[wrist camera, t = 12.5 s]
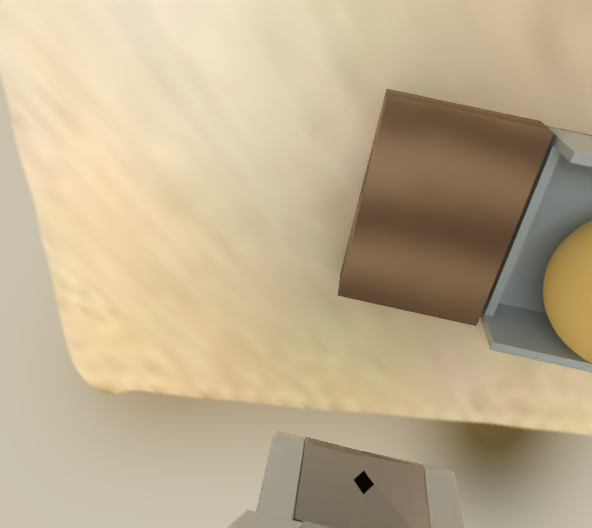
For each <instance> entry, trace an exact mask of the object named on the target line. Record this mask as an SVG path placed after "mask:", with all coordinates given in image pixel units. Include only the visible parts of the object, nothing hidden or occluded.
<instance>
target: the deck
mask: <svg viewBox="0 0 592 528" xmlns="http://www.w3.org/2000/svg"><path fill="white" fill-rule="evenodd" d="M552 136H553V132H552V131H551V130H550V129H548V128H547V127H546V126H545V125H544V124H543V123H542V122H541V121H536V120H532V119H527V118H522V117H517V116H513V115H508V114H503V113H498V112H494V111H489V110H484V109H479V108H475V107H470V106H465V105H460V104H456V103H451V102H446V101H441V100H436V99H432V98H427V97H422V96H417V95H413V94H408V93H403V92H398V91H394V90H389V89H387V90H386V94H385V98H384V102H383V106H382V110H381V114H380V118H379V122H378V126H377V130H376V134H375V138H374V142H373V146H372V150H371V154H370V158H369V162H368V166H367V170H366V174H365V178H364V182H363V186H362V190H361V194H360V198H359V202H358V206H357V210H356V214H355V218H354V222H353V226H352V230H351V234H350V238H349V242H348V246H347V250H346V254H345V258H344V262H343V266H342V270H341V274H340V281H339V290H338V296H343V297H347V298H352V299H356V300H361V301H365V302H370V303H374V304H379V305H384V306H388V307H393V308H397V309H402V310H406V311H411V312H416V313H420V314H425V315H429V316H434V317H438V318H443V319H447V320H452V321H457V322H461V323H466V324H470V325H475V326H476V325H477V323H478V320H479V318H480V315H481V313H482V310H483V308H484V305H485V303H486V300H487V298H488V295H489V293H490V291H491V288H492V286H493V283H494V281H495V278H496V276H497V273H498V271H499V268H500V266H501V263H502V261H503V258H504V256H505V253H506V251H507V248H508V246H509V243H510V241H511V238H512V236H513V233H514V231H515V228H516V226H517V223H518V221H519V218H520V216H521V213H522V211H523V208H524V206H525V203H526V201H527V198H528V196H529V193H530V191H531V188H532V186H533V183H534V181H535V178H536V176H537V173H538V171H539V168H540V166H541V163H542V161H543V158H544V156H545V153H546V151H547V148H548V146H549V143H550V141H551V138H552Z"/></svg>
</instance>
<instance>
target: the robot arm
mask: <svg viewBox="0 0 592 528" xmlns="http://www.w3.org/2000/svg"><path fill="white" fill-rule="evenodd" d="M227 528H464V525H463V519H462V513H461V507H460V502H459V495H458V490H457V484H456V478H455V475H454V473H453V472H452V470H448V469H444V468H439V467H434V466H430V465H425V464H421V465H420V464H419V463H416V462H411V461H406V460H401V459H397V458H393V457H388V456H383V455H378V454H374V453H370V452H365V451H359V450H355V449H351V448H347V447H343V446H339V445H335V444H331V443H327V442H323V441H319V440H316V439H311V438H308V437H305V439H304V437H301V436H297V435H293V434H289V433H285V432H282V431H278V430H275V433H274V435H273V439H272V443H271V448H270V452H269V457H268V461H267V466H266V470H265V475H264V479H263V484H262V488H261V493H260V497H259V502H258V506H257V511H251V510H247V511H245V512H244V513H243V514H242V515H241V516H240V517H239V518H237V519H236V520H235V521H234V522H233V523H232V524H231V525H229V526H228V527H227Z"/></svg>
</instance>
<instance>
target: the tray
mask: <svg viewBox="0 0 592 528" xmlns="http://www.w3.org/2000/svg"><path fill="white" fill-rule="evenodd" d="M546 127H547V128H548V129H550V130H551V131H552V132H553V136H552V138H551V141H550V143H549V146H548V148H547V151H546V153H545V156H544V158H543V161H542V163H541V166H540V168H539V171H538V173H537V176H536V178H535V181H534V183H533V186H532V188H531V191H530V193H529V196H528V198H527V201H526V203H525V206H524V208H523V211H522V213H521V216H520V218H519V221H518V223H517V226H516V228H515V231H514V233H513V236H512V238H511V241H510V243H509V246H508V248H507V251H506V253H505V256H504V258H503V261H502V263H501V266H500V268H499V271H498V273H497V276H496V278H495V281H494V283H493V286H492V288H491V291H490V293H489V295H488V298H487V300H486V303H485V305H484V308H483V310H482V313H481V315H480V317H481V320H482V324H483V327H484V330H485V333H486V337H487V340H488V343H489V346H490V350H494V351H499V352H503V353H508V354H512V355H517V356H521V357H526V358H530V359H535V360H539V361H544V362H549V363H553V364H558V365H562V366H567V367H571V368H576V369H580V370H585V371H589V372H592V363H591V362H589V361H587V360H585V359H583V358H582V357H581V356H579V355H578V354H576V353H575V352H574V351H573V350H571V349H570V348H569V347H568V346H567V345H566V344H565V343H564V342H563V341H562V339H561V338H560V337H559V336H558V335H557V333H556V331H555V330H554V328H553V326H552V325H551V322H550V320H549V318H548V316H547V313H546V309H545V306H544V299H543V282H544V276H545V272H546V269H547V266H548V263H549V261H550V259H551V257H552V255H553V253H554V252H555V250H556V249H557V247H558V246H559V245H560V244H561V243H562V241H563V240H564V239H565V238H566V237H567V236H568V235H570V234H571V233H572V232H573V231H574V230H576V229H577V228H579V227H580V226H582V225H583V224H585V223H587V222H589V221H591V220H592V135H587V134H583V133H578V132H573V131H568V130H564V129H559V128H554V127H549V126H546Z"/></svg>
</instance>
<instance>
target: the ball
mask: <svg viewBox="0 0 592 528" xmlns="http://www.w3.org/2000/svg"><path fill="white" fill-rule="evenodd" d="M543 299H544V306H545V309H546V313H547V316H548V318H549V320H550V322H551V325H552V326H553V328H554V330H555V331H556V333H557V335H558V336H559V337H560V338H561V339H562V341H563V342H564V343H565V344H566V345H567V346H568V347H569V348H570V349H571V350H573V351H574V352H575V353H576V354H578V355H579V356H581V357H582V358H583V359H585V360H587V361H589V362H591V363H592V220H591V221H589V222H587V223H585V224H583V225H582V226H580V227H579V228H577V229H576V230H574V231H573V232H572V233H571V234H570V235H568V236H567V237H566V238H565V239H564V240H563V241H562V243H561V244H560V245H559V246H558V247H557V249H556V250H555V252H554V253H553V255H552V257H551V259H550V261H549V263H548V266H547V269H546V272H545V276H544V282H543Z"/></svg>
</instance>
